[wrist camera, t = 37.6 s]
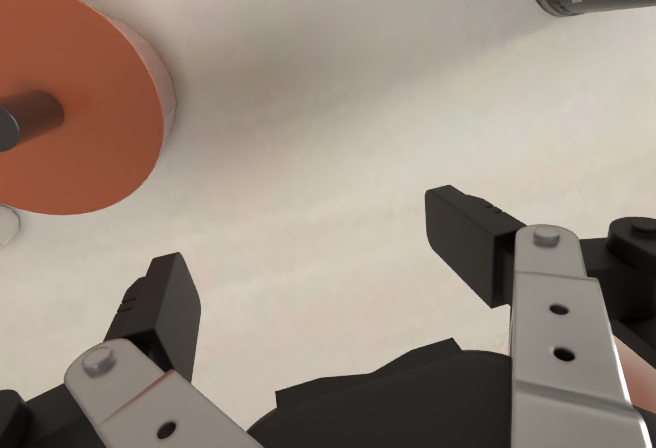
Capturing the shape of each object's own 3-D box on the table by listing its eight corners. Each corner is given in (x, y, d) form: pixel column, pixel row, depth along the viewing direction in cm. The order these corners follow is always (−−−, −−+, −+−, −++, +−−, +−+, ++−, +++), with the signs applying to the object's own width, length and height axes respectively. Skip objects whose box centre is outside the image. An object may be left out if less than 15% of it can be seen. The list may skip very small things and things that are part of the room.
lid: (-95, -68, 19) (-244, -123, 13) (185, 37, 23) (170, 32, 18) (-88, 180, 23) (-196, 224, 17) (147, 227, 28) (125, 274, 22)
